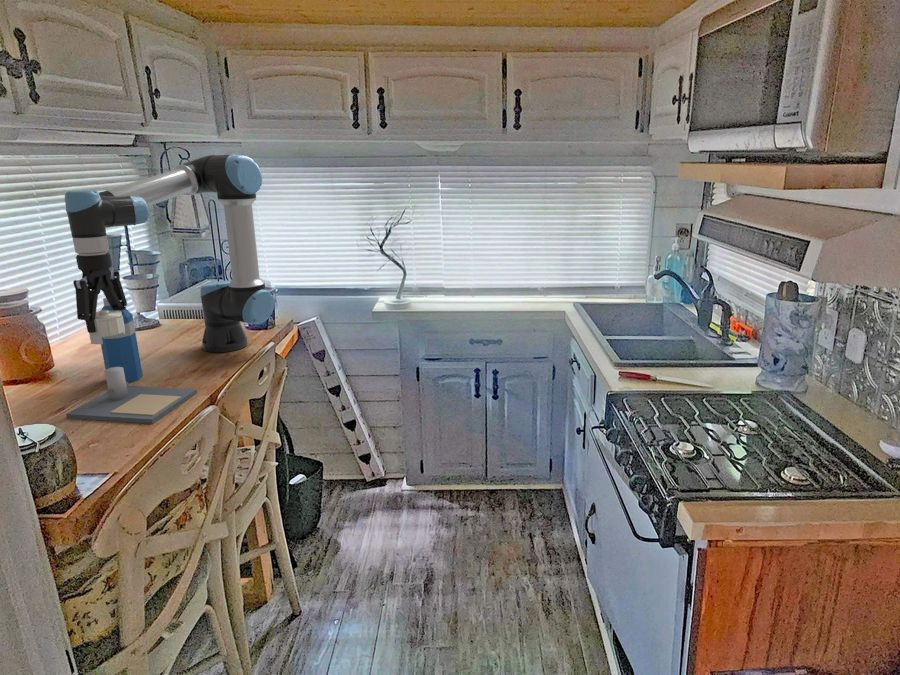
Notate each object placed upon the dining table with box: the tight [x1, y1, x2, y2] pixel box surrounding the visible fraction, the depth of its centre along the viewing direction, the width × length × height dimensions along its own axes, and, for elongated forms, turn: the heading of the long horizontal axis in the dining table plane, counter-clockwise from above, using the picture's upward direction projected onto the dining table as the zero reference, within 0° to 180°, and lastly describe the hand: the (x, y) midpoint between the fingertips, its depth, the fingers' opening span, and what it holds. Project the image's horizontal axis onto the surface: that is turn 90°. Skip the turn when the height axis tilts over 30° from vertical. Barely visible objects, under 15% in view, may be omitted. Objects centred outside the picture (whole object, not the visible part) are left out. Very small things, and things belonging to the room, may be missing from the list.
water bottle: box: [100, 297, 144, 384], centre depth 172 cm, size 9×9×25 cm
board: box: [65, 367, 198, 425], centre depth 155 cm, size 20×24×9 cm
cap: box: [95, 309, 125, 337], centre depth 153 cm, size 8×8×6 cm
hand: (108, 338), depth 154 cm, fingers closed on cap, 8 cm apart
